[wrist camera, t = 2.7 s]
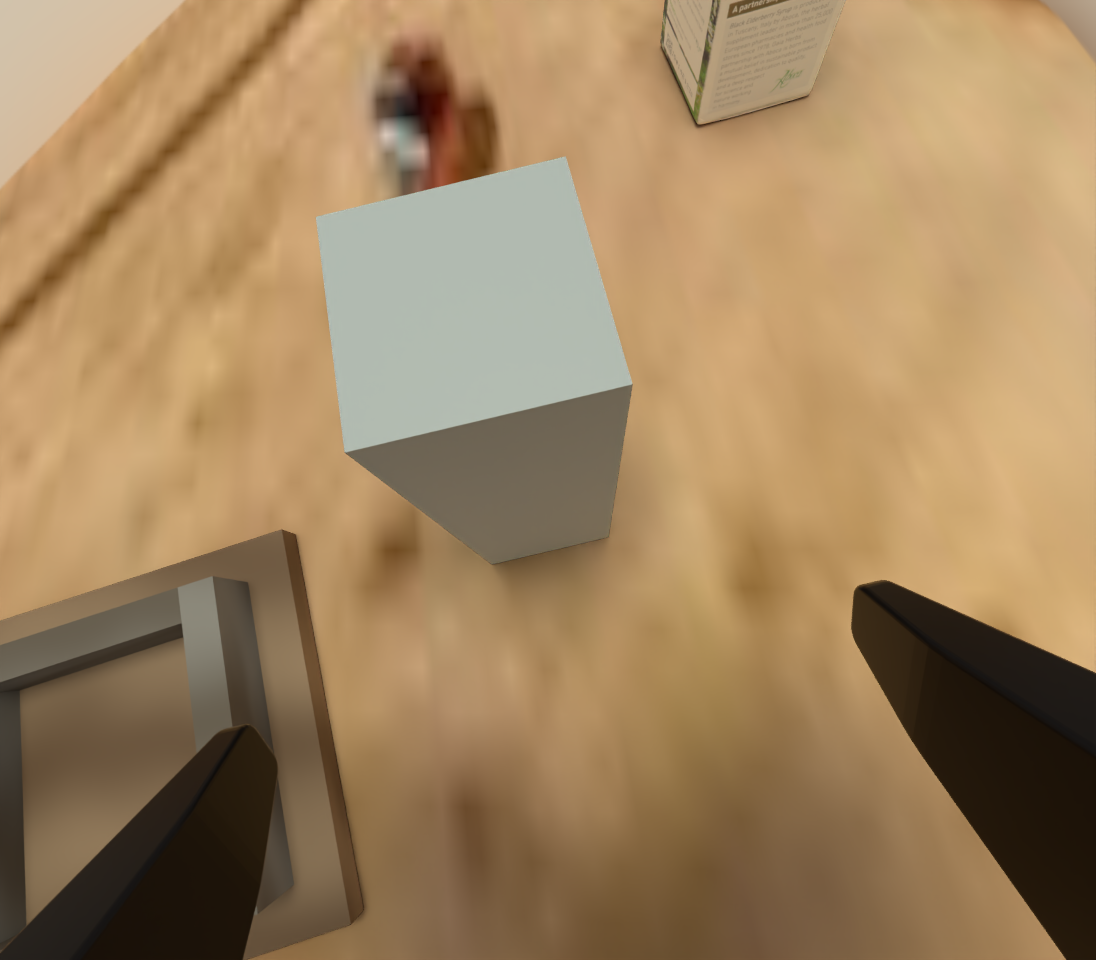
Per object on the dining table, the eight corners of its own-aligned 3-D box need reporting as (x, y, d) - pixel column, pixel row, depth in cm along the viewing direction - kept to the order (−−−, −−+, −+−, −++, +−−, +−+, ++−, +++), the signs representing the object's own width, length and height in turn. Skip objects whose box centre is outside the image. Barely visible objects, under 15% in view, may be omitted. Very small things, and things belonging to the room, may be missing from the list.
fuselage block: (608, 537, 21) (632, 384, 8) (491, 564, 21) (344, 452, 9) (580, 428, 22) (565, 155, 10) (470, 454, 22) (316, 216, 10)
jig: (363, 909, 18) (320, 959, 15) (-23, 1039, 18) (-141, 1115, 15) (295, 534, 22) (250, 518, 19) (-26, 638, 22) (-120, 638, 19)
